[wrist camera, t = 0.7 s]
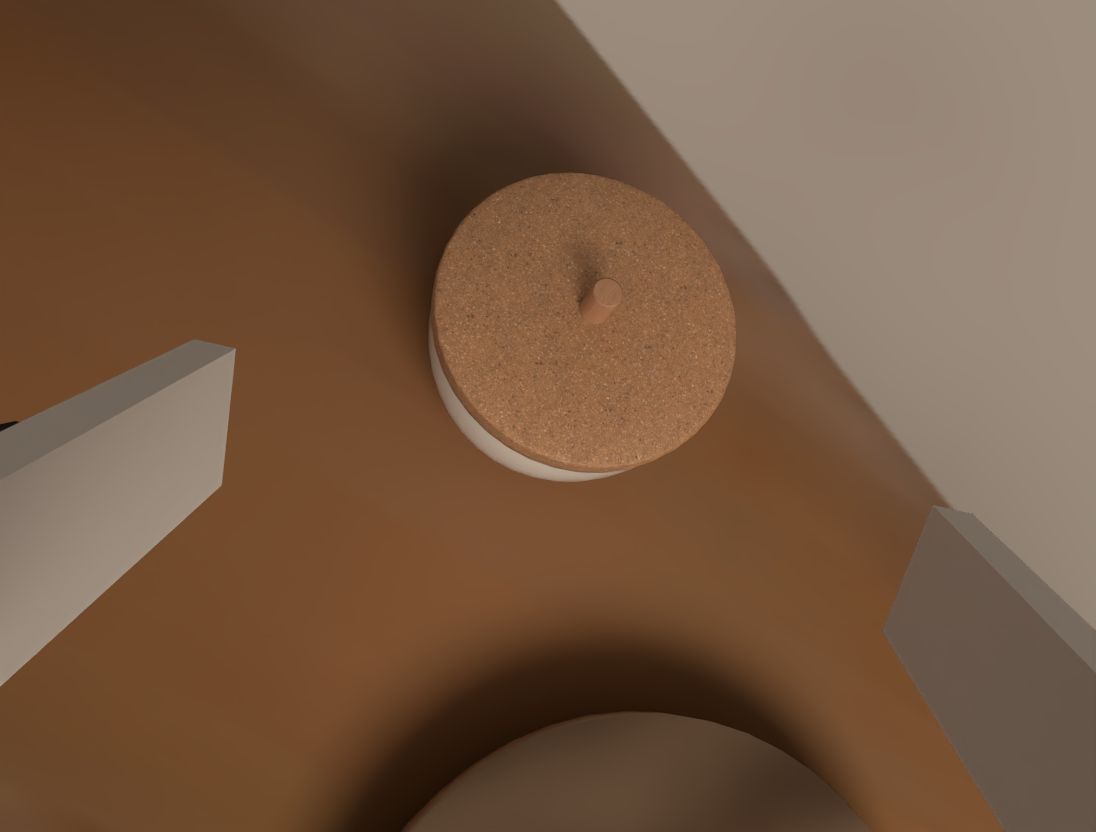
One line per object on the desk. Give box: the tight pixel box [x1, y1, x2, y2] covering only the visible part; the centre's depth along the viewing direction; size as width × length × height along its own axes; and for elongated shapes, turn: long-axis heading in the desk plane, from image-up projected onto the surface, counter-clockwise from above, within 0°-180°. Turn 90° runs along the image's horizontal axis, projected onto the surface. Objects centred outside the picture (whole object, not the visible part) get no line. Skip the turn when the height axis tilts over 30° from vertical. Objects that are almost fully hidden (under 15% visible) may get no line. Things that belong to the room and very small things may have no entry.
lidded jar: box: [429, 172, 737, 482], centre depth 31 cm, size 11×11×9 cm
